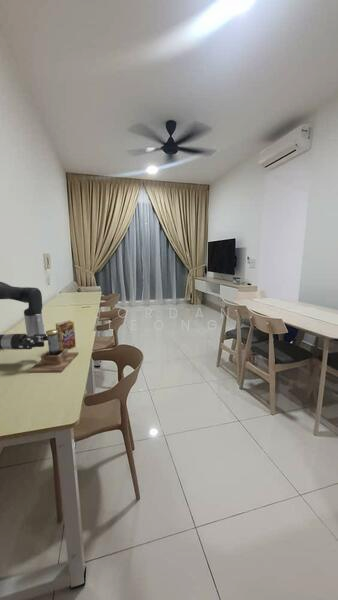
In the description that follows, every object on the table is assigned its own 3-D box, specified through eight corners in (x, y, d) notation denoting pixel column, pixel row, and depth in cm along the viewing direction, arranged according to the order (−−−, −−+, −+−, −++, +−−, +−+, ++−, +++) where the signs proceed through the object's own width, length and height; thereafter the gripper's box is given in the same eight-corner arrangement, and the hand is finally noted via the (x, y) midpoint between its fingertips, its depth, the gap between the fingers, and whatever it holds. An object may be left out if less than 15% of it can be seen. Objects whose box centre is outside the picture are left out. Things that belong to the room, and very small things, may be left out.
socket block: (50, 354, 128) (49, 345, 127) (78, 353, 128) (77, 344, 127) (28, 372, 108) (27, 361, 107) (61, 372, 108) (60, 361, 107)
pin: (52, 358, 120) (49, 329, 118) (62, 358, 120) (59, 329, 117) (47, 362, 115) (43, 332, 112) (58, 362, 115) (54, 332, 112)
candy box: (61, 351, 131) (59, 324, 128) (57, 350, 133) (54, 323, 130) (76, 346, 138) (74, 320, 135) (72, 345, 140) (69, 319, 138)
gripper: (3, 339, 108) (39, 338, 108) (22, 329, 122) (54, 329, 122) (6, 354, 110) (41, 354, 110) (24, 343, 124) (56, 343, 124)
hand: (48, 341), depth 116 cm, fingers open, 8 cm apart
